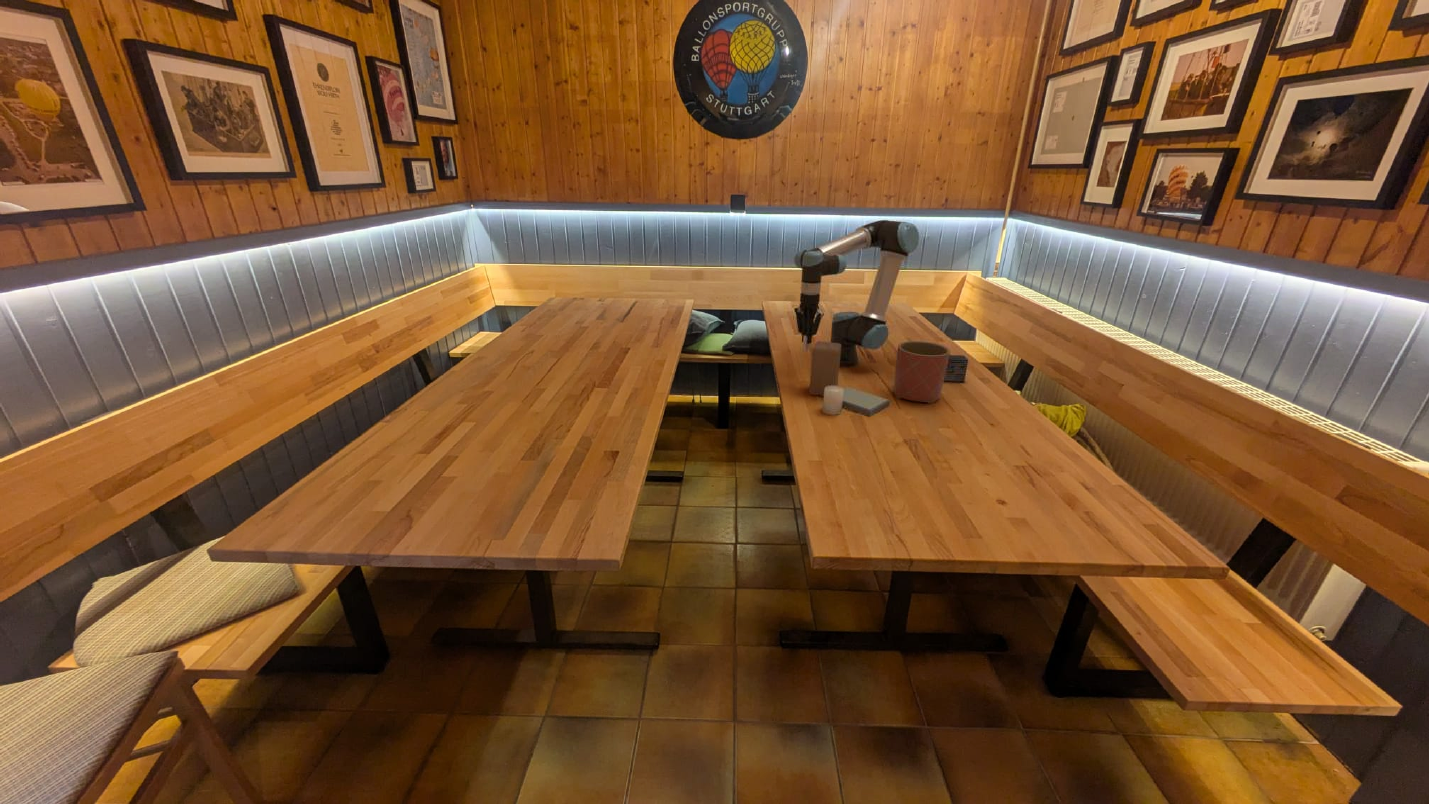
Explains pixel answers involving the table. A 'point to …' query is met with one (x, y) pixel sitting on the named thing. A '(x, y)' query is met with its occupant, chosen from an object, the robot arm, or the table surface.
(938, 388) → the planter
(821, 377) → the wooden block
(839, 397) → the white rounded cylinder
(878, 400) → the grey rectangular slab
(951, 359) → the small box
